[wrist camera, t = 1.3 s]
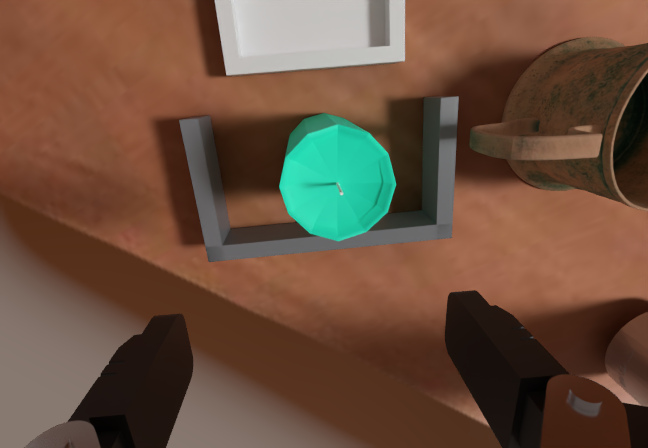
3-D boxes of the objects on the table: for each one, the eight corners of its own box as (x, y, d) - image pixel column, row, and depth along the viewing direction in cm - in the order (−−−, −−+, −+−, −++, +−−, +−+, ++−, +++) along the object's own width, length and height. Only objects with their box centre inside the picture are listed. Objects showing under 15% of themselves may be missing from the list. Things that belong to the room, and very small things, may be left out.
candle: (361, 189, 29) (400, 249, 18) (287, 191, 29) (280, 254, 18) (363, 112, 27) (409, 126, 16) (283, 113, 27) (273, 129, 16)
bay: (439, 95, 27) (458, 96, 24) (435, 222, 31) (451, 237, 28) (193, 116, 27) (178, 119, 23) (218, 243, 30) (208, 262, 27)
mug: (429, 45, 26) (528, 10, 15) (661, 34, 27) (923, -8, 16) (421, 199, 30) (496, 262, 19) (624, 185, 31) (811, 238, 20)
